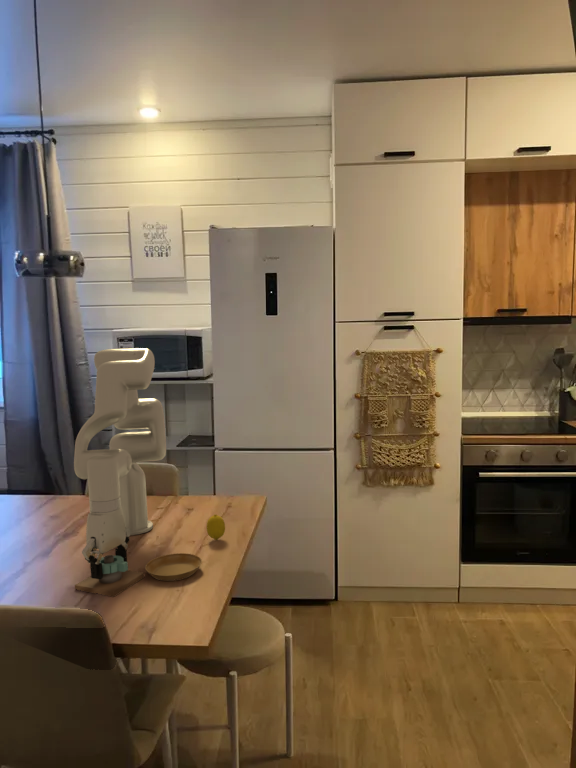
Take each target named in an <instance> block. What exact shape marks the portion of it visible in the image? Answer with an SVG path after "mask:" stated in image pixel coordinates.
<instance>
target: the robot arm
mask: <svg viewBox="0 0 576 768" xmlns="http://www.w3.org/2000/svg"><path fill="white" fill-rule="evenodd" d="M93 357H94V358H93V360H94V361H93V363H94V367H95V369H96V379H95V396H94V397H95V398H94V399H95V400H94V413H93V414H92V415H91V416H90V417H89V418H88V419H87V420H86V421H85V423H84V424H83V425H82V426H81V428H80V430H79V432H78V434H77V436H76V437H75V438H76V439H75V442H74V443H75V445H74V457H73V470H74V473H75V475H76V476H77V478H79V479H81V480H87V484H88V485H87V487H88V500H89V501H88V503H89V513H87V518H86V533H85V534H86V535H85V538H86V539H85V541H86V545H85V546H84V548H83V549H82V550H81V554H82V555H83V557H84V559H85V560H86V561H87V563H88V564H89V565H90V566H89V567H90V576H91V577H92V578H94V579H102V578H103V572H102V563H100V561H101V558H102V557H103V555H104V554H106V553H108V552H110V551H111V550H113V549H114V552H115V553H114V554H115V555H117V556H121V557H123V558H124V562H128V558H127V557H128V556H127V555H128V554H127V553H128V552H127V549H128V548H129V546H128V544H129V542H130V537H131V536H137V535H141V534H144V533H148V532H150V531H151V530H153V528H154V524H153V522H152V521H151V520H149V519H148V515H149V514H148V503H147V502H148V501H147V500H148V499H147V486H146V485H147V484H146V474H145V472H144V470H143V468H141V466H140V465H139V464H138V463H140V462H156V461H162V460H163V459H164V458H165V457H166V455H167V438H166V427H165V414H164V407H163V404H162V402H161V401H160V400H159V399H157V398H154V397H153V398H151V397H149V398H139V394H138V393H139V392H138V390H147V388H148V387H150V384H151V381H152V378H153V374H154V371H155V363H156V362H155V360H156V359H155V354H154V353H153V351H152V350H151V349H149V348H147V347H146V348H143V347H142V348H141V347H140V348H139V347H135V348H134V347H133V348H108V349H102V350H99V351H96V353H95V354H94V356H93ZM111 426H113V427H115V428H116V429H117V430H145V429H147V430H146V431H130V432H129V431H126V432H121V433H116V434H115V435H113V436H112V437H111V438H110V440H109V449H90V450H88V449H89V448H88V447H89V444H90V442H91V440H92V439H93V437H95V436H96V435H97V434H98V433H99V432H102V430H105V429H107V428H109V427H111Z"/></svg>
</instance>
